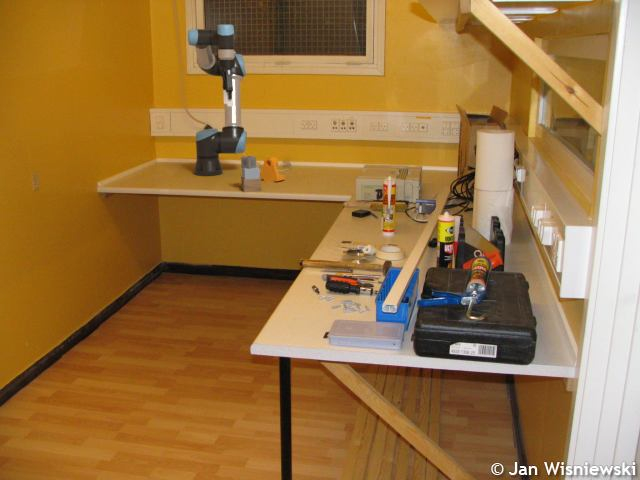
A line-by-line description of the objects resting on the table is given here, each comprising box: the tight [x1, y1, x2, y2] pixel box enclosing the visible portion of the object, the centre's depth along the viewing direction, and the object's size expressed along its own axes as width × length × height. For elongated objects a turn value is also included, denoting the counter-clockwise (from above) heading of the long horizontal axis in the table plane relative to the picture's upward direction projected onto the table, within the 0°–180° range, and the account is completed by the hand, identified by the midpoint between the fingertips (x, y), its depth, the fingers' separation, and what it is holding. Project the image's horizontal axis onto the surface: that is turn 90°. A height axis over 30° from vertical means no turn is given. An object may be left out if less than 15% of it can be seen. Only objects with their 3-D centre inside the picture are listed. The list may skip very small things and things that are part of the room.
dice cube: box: [240, 155, 257, 169], centre depth 317 cm, size 5×5×5 cm
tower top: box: [241, 165, 261, 180], centre depth 319 cm, size 7×7×5 cm
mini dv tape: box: [414, 198, 437, 215], centre depth 277 cm, size 8×2×6 cm, turn 78°
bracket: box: [260, 156, 286, 183], centre depth 342 cm, size 11×7×12 cm, turn 57°
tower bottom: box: [240, 176, 262, 193], centre depth 321 cm, size 8×8×6 cm
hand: (228, 105), depth 323 cm, fingers open, 13 cm apart
